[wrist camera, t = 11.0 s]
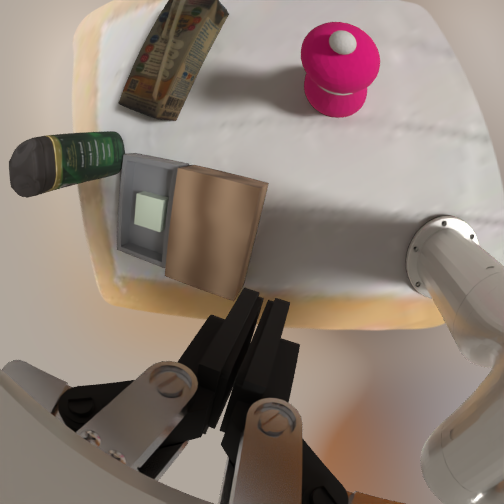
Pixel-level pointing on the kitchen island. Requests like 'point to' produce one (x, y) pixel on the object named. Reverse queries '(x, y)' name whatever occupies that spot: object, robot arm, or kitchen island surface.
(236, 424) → the robot arm
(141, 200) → the tile
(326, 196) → the kitchen island surface
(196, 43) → the beverage carton
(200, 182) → the board
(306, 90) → the pepper mill
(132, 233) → the tray
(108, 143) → the coffee jar
